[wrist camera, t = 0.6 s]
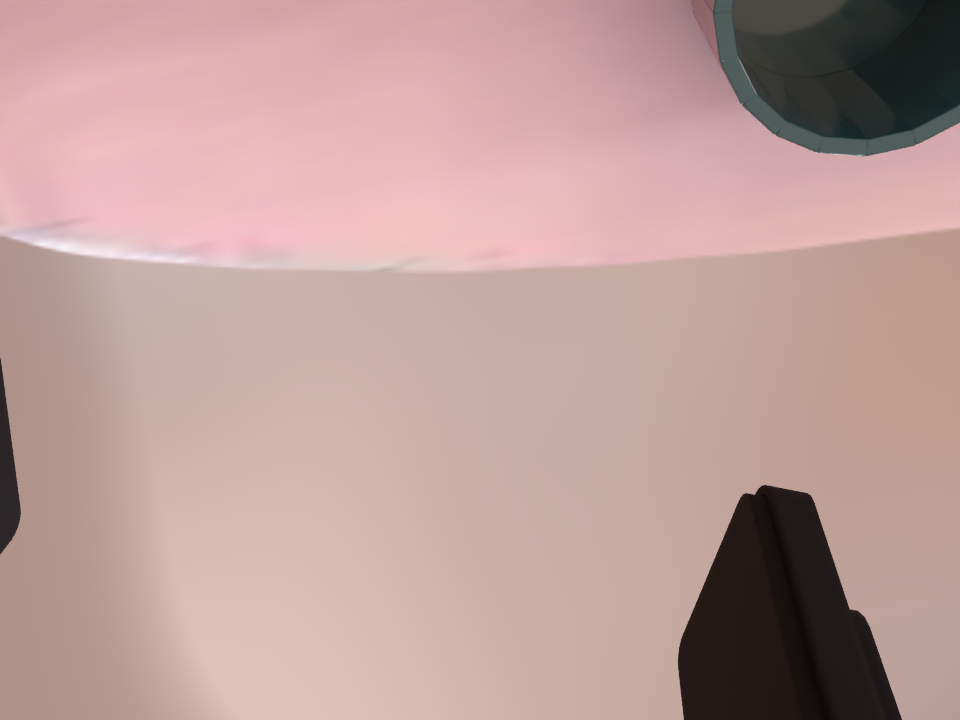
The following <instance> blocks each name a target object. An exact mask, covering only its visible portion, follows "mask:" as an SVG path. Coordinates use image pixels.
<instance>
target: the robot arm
mask: <svg viewBox="0 0 960 720" xmlns="http://www.w3.org/2000/svg"><path fill="white" fill-rule="evenodd" d="M20 515H21V511H20V501H19V494H18V487H17V479H16V471H15V464H14V457H13V449H12V441H11V434H10V426H9V418H8V411H7V404H6V396H5V388H4V380H3V374H2V365H1V359H0V554H1V553H2V551H3V550H4V549H5V548H6V546H7V545H8V544H9V542H10V541H11V540H12V538H13V536H14V535H15V533H16V530H17V528H18V525H19V520H20ZM678 669H679V679H680V687H681V697H682V706H683V714H684V720H902V719H901V716H900V713H899V710H898V707H897V704H896V701H895V698H894V695H893V693H892V690H891V687H890V684H889V681H888V678H887V675H886V672H885V670H884V667H883V664H882V661H881V658H880V655H879V652H878V649H877V647H876V644H875V641H874V638H873V635H872V632H871V630H870V627H869V625H868V623H867V621H866V619H865V617H864V616H863V615H862V614H861V613H859V612H858V611H855V610H850V609H849V606H848V603H847V600H846V597H845V594H844V591H843V588H842V585H841V582H840V579H839V576H838V573H837V570H836V567H835V564H834V561H833V558H832V555H831V552H830V549H829V546H828V543H827V540H826V537H825V534H824V531H823V528H822V525H821V521H820V519H819V516H818V512H817V509H816V506H815V503H814V501H813V499H812V497H811V495H809V494H808V493H804V492H799V491H793V490H788V489H783V488H778V487H773V486H767V485H764V486H761V487H760V488H759V489H758V490H757V492H756V494H755V495H753V494H747V493H746V494H743V495H742V497H741V498H740V500H739V502H738V504H737V507H736V509H735V512H734V514H733V516H732V519H731V521H730V523H729V526H728V528H727V531H726V533H725V535H724V538H723V540H722V543H721V545H720V548H719V550H718V552H717V555H716V557H715V559H714V562H713V564H712V566H711V569H710V571H709V574H708V576H707V578H706V581H705V583H704V586H703V588H702V591H701V593H700V595H699V598H698V600H697V602H696V605H695V607H694V610H693V612H692V614H691V617H690V619H689V622H688V624H687V626H686V629H685V631H684V633H683V636H682V639H681V643H680V647H679V655H678Z"/></svg>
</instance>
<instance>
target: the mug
mask: <svg viewBox="0 0 960 720" xmlns="http://www.w3.org/2000/svg"><path fill="white" fill-rule="evenodd" d="M691 3H692V8H693V13H694V15H695V18H696V20H697V22H698V24H699V26H700V28H701V29H702V31H703V33H704V35H705V37H706V39H707V41H708V43H709V45H710V47H711V49H712V51H713V53H714V54H715V56H716V58H717V60H718V62H719V64H720V66H721V68H722V69H723V71H724V73H725V75H726V77H727V79H728V81H729V83H730V84H731V86H732V88H733V90H734V92H735V94H736V96H737V98H738V100H739V101H740V103H741V104H742V106H743V107H744V108H745V109H746V110H748V111H749V112H750V113H751V114H752V115H753V116H754V117H755V118H756V119H757V120H759V121H760V122H761V123H762V124H763V125H764V126H765V127H766V128H767V129H768V130H770V131H771V132H772V133H773V134H775V135H776V136H778V137H780V138H783V139H785V140H788V141H790V142H792V143H795V144H797V145H800V146H802V147H804V148H807V149H809V150H812V151H814V152H818V153H825V154H839V155H853V156H869V155H874V154H879V153H883V152H888V151H892V150H897V149H901V148H906V147H911V146H915V145H916V144H919V143H921V142H923V141H925V140H927V139H929V138H931V137H933V136H935V135H937V134H938V133H940V132H942V131H944V130H946V129H948V128H950V127H952V126H954V125H956V124H958V123H960V0H691Z"/></svg>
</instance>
